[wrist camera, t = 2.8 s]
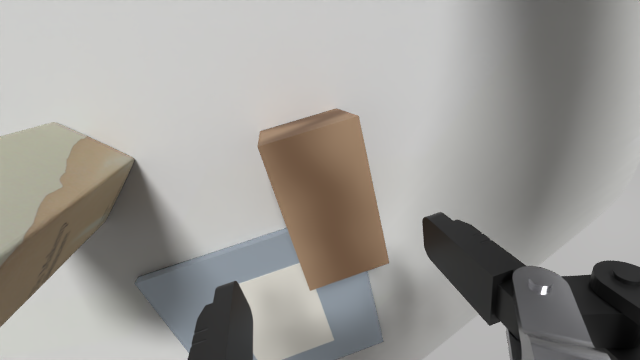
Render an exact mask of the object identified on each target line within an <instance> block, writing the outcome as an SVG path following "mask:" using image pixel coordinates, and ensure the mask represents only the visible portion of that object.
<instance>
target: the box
mask: <svg viewBox="0 0 640 360" xmlns="http://www.w3.org/2000/svg"><path fill="white" fill-rule="evenodd" d="M133 163H134V158H132V157H131V156H129V155H126V154H124V153H122V152H120V151H118V150H116V149H114V148H112V147H110V146H107V145H105V144H103V143H101V142H99V141H96V140H94V139H92V138H90V137H88V136H85V135H83V134H81V133H79V132H76V131H74V130H72V129H69V128H67V127H65V126H63V125H60V124H58V123H55V122H52V123H48V124H44V125H41V126H37V127H34V128H30V129H26V130H22V131H19V132H15V133H11V134H8V135H4V136H0V327H1V326H2V325H3V324H4V323H5V322H6V321H7V320H8V319H9V318H10V317H11V316H12V315H13V314H14V313H15V312H16V311H17V310H18V309H19V308H20V307H21V306H22V305H23V304H24V303H25V302H26V301H27V300H28V299H29V298H30V297H31V296H32V295H33V294H34V293H35V292H36V291H37V290H38V289H39V288H40V287H41V286H42V285H43V284H44V283H45V282H46V281H47V280H48V279H49V278H50V277H51V276H52V275H53V274H54V273H55V271H56V270H57V269H58V268H59V267H60V266H61V265H62V264H63V263H64V262H65V261H66V260H67V259H68V258H69V257H70V256H71V255H72V254H73V253H74V252H75V251H76V250H77V249H78V248H79V247H80V246H81V245H82V244H83V243H84V242H85V241H86V240H87V239H88V238H89V237H90V236H91V235H92V234H93V233H94V232H95V231H96V230H97V229H98V228H99V227H100V226H101V225H102V224H103V223H104V222H105V221H106V219H107V217H108V215H109V213H110V211H111V209H112V207H113V205H114V203H115V201H116V199H117V197H118V195H119V193H120V191H121V189H122V187H123V184H124V182H125V180H126V178H127V176H128V174H129V172H130V169H131V167H132V165H133Z"/></svg>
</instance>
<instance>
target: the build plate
mask: <svg viewBox="0 0 640 360" xmlns="http://www.w3.org/2000/svg"><path fill="white" fill-rule="evenodd" d="M233 281H237V282H238V284H239V286H240V288H241V290H242V292H243V294H244V296H245V298H246V300H247V302H248V304H249V306H250V308H251V311H252V316H253V360H336V359H339V358H342V357H344V356H347V355H350V354H352V353H355V352H357V351H360V350H363V349H365V348H368V347H371V346H373V345H376V344H379V343H381V342H383V338H382V333H381V329H380V325H379V320H378V316H377V311H376V307H375V303H374V298H373V294H372V289H371V285H370V281H369V276H368V272H367V271H365V272H362V273H359V274H357V275H354V276H351V277H348V278H345V279H343V280H340V281H337V282H334V283H331V284H328V285H326V286H323V287H320V288H317V289H314V290H311V291H310V290H309V287H308V284H307V281H306V279H305V276H304V273H303V270H302V268H301V265H300V262H299V259H298V257H297V254H296V251H295V248H294V246H293V243H292V240H291V237H290V235H289V232H288V229H287V228H285V229H282V230H279V231H276V232H273V233H270V234H267V235H264V236H261V237H258V238H255V239H252V240H249V241H246V242H243V243H240V244H237V245H234V246H231V247H228V248H225V249H222V250H219V251H216V252H213V253H210V254H207V255H204V256H201V257H198V258H195V259H192V260H189V261H186V262H183V263H180V264H177V265H174V266H170V267H167V268H164V269H161V270H158V271H155V272H152V273H149V274H146V275H143V276H140V277H138V278H137V280H136V282H135V285H136V286H137V287H138V289H139V290H140V291H141V292H142V294H143V295H144V296H145V297H146V299H147V300H148V301H149V303H150V304H151V305H152V306H153V308H154V309H155V310H156V312H157V313H158V314H159V315H160V317H161V318H162V319H163V321H164V322H165V323H166V324H167V326H168V327H169V328H170V329H171V331H172V332H173V333H174V335H175V336H176V337H177V338H178V340H179V341H180V342H181V344H182V345H183V346H184V347H185V349H186V350H187V351H188V353H189V352H190V348H191V347H192V339H193V335H194V330H195V326H196V322H197V318H198V317H199V315H200V313H201V312H202V310H203V308H204V307H205V305H208V304H211V303H213V299H214V294H215V289H216V287H218V286H221V285H224V284H227V283H230V282H233Z"/></svg>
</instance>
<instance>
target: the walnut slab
mask: <svg viewBox="0 0 640 360" xmlns="http://www.w3.org/2000/svg"><path fill="white" fill-rule="evenodd" d="M258 149H259V152H260V155H261V157H262V160H263V163H264V166H265V168H266V171H267V174H268V177H269V179H270V182H271V185H272V188H273V190H274V193H275V196H276V199H277V202H278V204H279V207H280V210H281V213H282V215H283V218H284V221H285V224H286V226H287V229H288V232H289V235H290V237H291V240H292V243H293V246H294V248H295V251H296V254H297V257H298V259H299V262H300V265H301V268H302V270H303V273H304V276H305V279H306V281H307V284H308V287H309V290H310V291H311V290H314V289H317V288H320V287H323V286H326V285H328V284H331V283H334V282H337V281H340V280H343V279H345V278H348V277H351V276H354V275H357V274H359V273H362V272H365V271H368V270H371V269H374V268H376V267H379V266H382V265H385V264H388V263H389V260H388V255H387V250H386V245H385V240H384V236H383V231H382V226H381V221H380V216H379V212H378V207H377V202H376V197H375V192H374V188H373V183H372V178H371V173H370V168H369V163H368V159H367V154H366V149H365V144H364V139H363V135H362V130H361V125H360V120H359V116H357V115H354V114H351V113H348V112H345V111H342V110H339V109H333V110H330V111H326V112H323V113H320V114H316V115H313V116H310V117H306V118H303V119H300V120H296V121H293V122H290V123H286V124H283V125H280V126H276V127H273V128H270V129H266V130H263V131H260V135H259V141H258Z"/></svg>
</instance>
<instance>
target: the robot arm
mask: <svg viewBox="0 0 640 360" xmlns="http://www.w3.org/2000/svg"><path fill="white" fill-rule="evenodd" d="M422 222H423V236H424V247H425V251H426V253H427V255H428V257H429V258H430V260H431V261H432V262H433V263H434V264H435V265H436V267H437V268H438V269H439V270H440V271H441V272H442V273H443V274H444V275H445V277H446V278H447V279H448V280H449V281H450V282H451V283H452V284H453V286H454V287H455V288H456V289H457V290H458V291H459V292H460V293H461V294H462V296H463V297H464V298H465V299H466V300H467V301H468V302H469V303H470V304H471V306H472V307H473V308H474V309H475V310H476V311H477V312H478V313H479V315H480V316H481V317H482V318H483V319H484V320H485V321H486V322H487V323H488V325H493V324H495V323H498V322H500V321H501V322H502V323H503V324H504V325H505V326H506V328H507V329H506V335H507V341H508V349H509V356H510V360H640V267H638V266H635V265H632V264H629V263H625V262H620V261H603V262H599V263H597V264H596V265H595V266H594V267H593V271H592V274H591V275H581V276H560V275H558V274H556V273H555V272H552V271H550V270H548V269H545V268H541V267H536V266H526V265H524V264H523V263H522V262H520V261H519V260H518V259H516V258H515V257H514V256H512V255H511V254H510V253H508V252H507V251H506V250H504V249H503V248H501V247H500V246H499V245H497V244H496V243H495V242H493V241H491V240H490V239H489V238H488V237H487V236H485V235H484V234H482V233H481V232H480V231H479V230H477V229H476V228H475V227H473V226H472V225H470V224H468V223H465V222H462V221H460V220H455V221H453V220H451V219H450V218H449V217H448V216H446V215H445V214H444V213H442V212H439V213H436V214H433V215H430V216H427V217H424V218H423V221H422ZM188 360H253V316H252V311H251V308H250V306H249V304H248V302H247V300H246V298H245V296H244V294H243V292H242V290H241V288H240V286H239V284H238V282H237V281H233V282H230V283H227V284H224V285H221V286H218V287H216V289H215V294H214V299H213V303H211V304H208V305H205V307H204V308H203V310H202V312H201V313H200V315H199V317H198V318H197V322H196V326H195V330H194V335H193V339H192V347H191V348H190V352H189V357H188Z"/></svg>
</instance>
